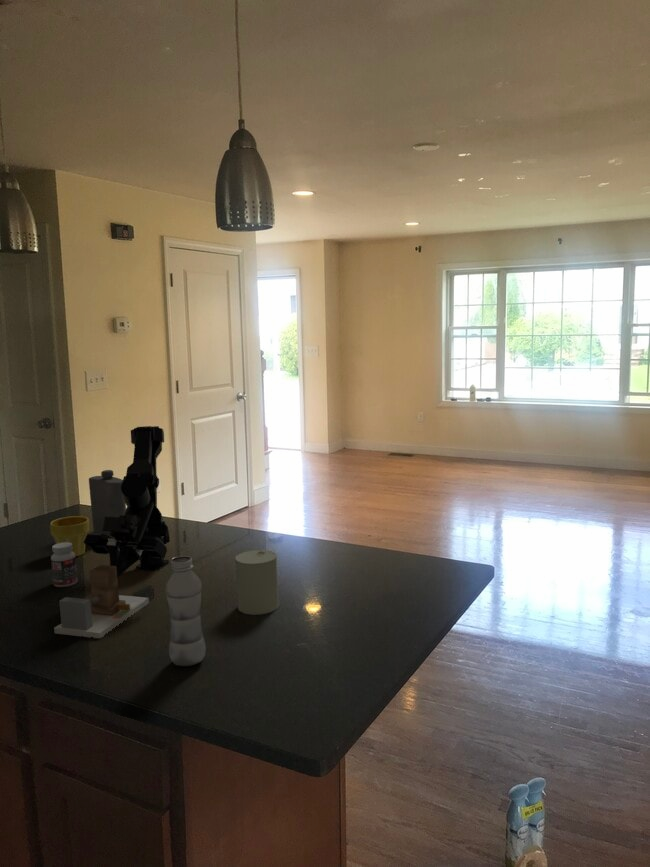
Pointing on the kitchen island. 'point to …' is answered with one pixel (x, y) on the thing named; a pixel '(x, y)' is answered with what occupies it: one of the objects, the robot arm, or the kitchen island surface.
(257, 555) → the can
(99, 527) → the flask
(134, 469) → the robot arm
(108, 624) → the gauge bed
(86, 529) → the plant pot
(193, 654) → the plastic bottle
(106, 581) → the gauge slider
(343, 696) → the kitchen island surface
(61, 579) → the pill bottle
